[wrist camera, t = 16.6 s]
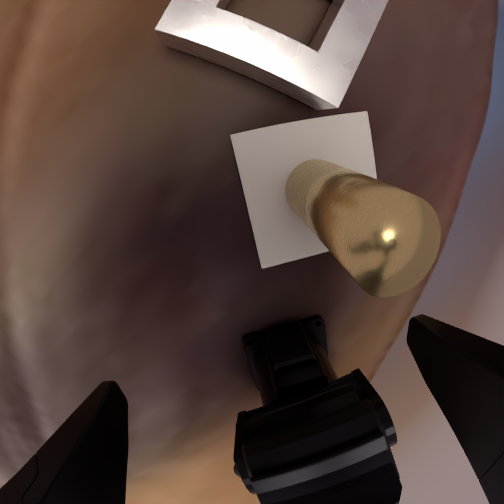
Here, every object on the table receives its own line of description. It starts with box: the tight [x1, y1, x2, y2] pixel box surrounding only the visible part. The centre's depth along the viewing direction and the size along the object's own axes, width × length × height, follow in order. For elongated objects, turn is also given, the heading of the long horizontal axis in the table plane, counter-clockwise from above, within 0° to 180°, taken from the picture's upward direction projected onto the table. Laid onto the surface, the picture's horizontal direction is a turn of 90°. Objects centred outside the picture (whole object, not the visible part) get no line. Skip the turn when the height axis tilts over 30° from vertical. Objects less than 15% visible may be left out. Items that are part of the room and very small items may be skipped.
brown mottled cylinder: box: [286, 159, 441, 297], centre depth 15 cm, size 4×4×10 cm
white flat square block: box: [230, 111, 377, 269], centre depth 20 cm, size 9×9×1 cm
